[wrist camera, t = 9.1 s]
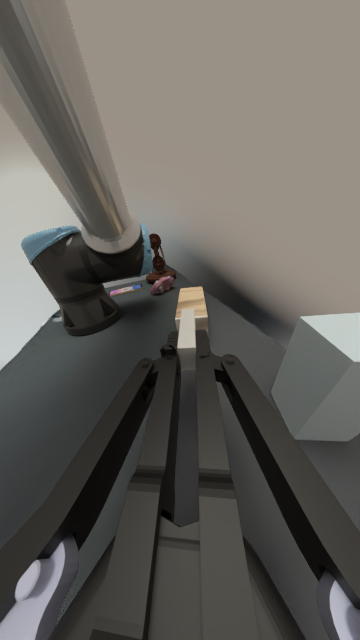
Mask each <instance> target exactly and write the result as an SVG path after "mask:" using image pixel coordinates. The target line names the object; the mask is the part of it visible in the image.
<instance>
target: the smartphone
mask: <svg viewBox="0 0 360 640" xmlns="http://www.w3.org/2000/svg"><path fill="white" fill-rule="evenodd" d="M142 289H143V285H142V284H139V285H134V286H130V287H125V288H121V289H117V290H112V291H110V293H109V295H110V296H111V297H112V296H116V295H120V294H125V293H129V292H133V291H138V290H142Z"/></svg>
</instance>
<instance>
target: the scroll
mask: <svg viewBox="0 0 360 640" xmlns="http://www.w3.org/2000/svg"><path fill="white" fill-rule="evenodd" d="M149 238H150V244H151V248H152V249H153V250H154V254H155V257H154V258H153V260H152V263H153V267H154V269H155V270H157V271H155V272H152V273H150V274H148V276H147V277H146V279H147V281H150V282H151V283H152V284H153V283H154V282H156V281H158V280H159V279H160V278H162V277H168V276H170V277H172V278H173V277H175V276H176V272H175V271H173V270H164V269H165V267H166V263H165V259H164V255H163V251H162V248H161V246H160V245H161V239H160V237H159V236H158V235H157V234H151V235H149ZM159 247H160V249H161V253H162V256H163V258H162V257H160V256H159V252H158V249H159ZM163 259H164V260H163Z"/></svg>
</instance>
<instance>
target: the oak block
mask: <svg viewBox="0 0 360 640" xmlns="http://www.w3.org/2000/svg"><path fill="white" fill-rule="evenodd" d="M193 308H194V312H195V323H196V330H203V329H205V330H206V331H207V332H208V316H207V310H206V305H205V300H204V294H203V289H202V287H192V288H183V289H180V295H179V300H178V306H177V312H176V317H175V322H176V328H177V331H179V328H180V319H181V311H182V309H193Z"/></svg>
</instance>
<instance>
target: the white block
mask: <svg viewBox="0 0 360 640" xmlns="http://www.w3.org/2000/svg"><path fill="white" fill-rule="evenodd" d="M271 394H272V397H273V399H274V401H275V403H276V405H277V407H278V409H279V411H280V413H281V415H282V417H283V420H284V422H285V424H286V426H287V428H288V430H289V432H290V433H291V435H292V436H293V437H294V439H295V440H319V441H346V442H348V441H349V440H351V439H352V438H354V437H355V436H356V435H358V434H359V433H360V313H347V314H334V315H318V316H303V317H299V320H298V322H297V325H296V328H295V330H294V333H293V335H292V338H291V341H290V343H289V346H288V349H287V351H286V354H285V356H284V359H283V362H282V364H281V367H280V370H279V372H278V375H277V377H276V380H275V383H274V385H273V388H272V390H271Z"/></svg>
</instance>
